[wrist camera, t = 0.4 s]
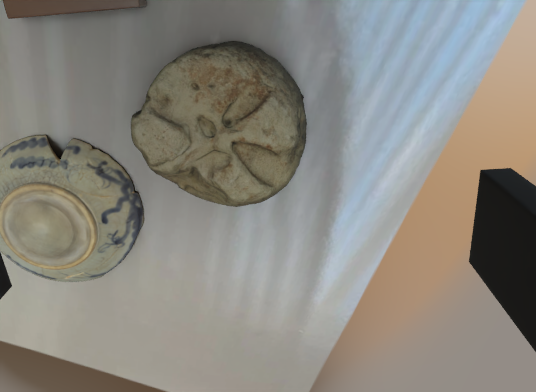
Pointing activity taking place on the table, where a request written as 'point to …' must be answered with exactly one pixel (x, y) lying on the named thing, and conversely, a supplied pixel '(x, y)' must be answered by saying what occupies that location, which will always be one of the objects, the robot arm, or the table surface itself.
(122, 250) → the decorative bowl
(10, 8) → the button block
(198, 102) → the stone
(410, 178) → the table surface
